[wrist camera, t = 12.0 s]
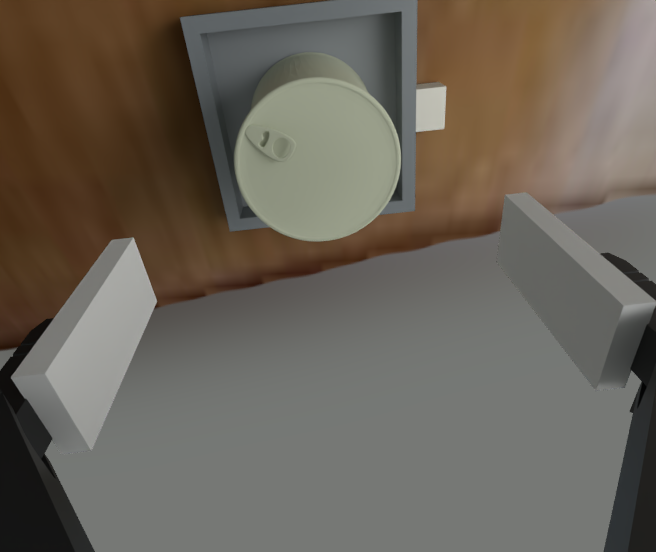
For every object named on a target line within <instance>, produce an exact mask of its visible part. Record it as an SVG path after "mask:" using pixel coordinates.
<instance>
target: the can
mask: <svg viewBox="0 0 656 552" xmlns="http://www.w3.org/2000/svg"><path fill="white" fill-rule="evenodd" d="M400 167H401V150H400V143H399V139H398V135H397V132H396V129H395V127H394V124H393V122H392V120H391V119H390V117H389V115H388V114H387V112H386V111H385V109H384V108H383V107H382V106H381V105H380V103H379V102H378V101H377V100H376V99H375V98H374V97H372V96H371V95H370V94H369V93H368V91H367V89H366V87H365V85H364V83H363V81H362V80H361V78H360V77H359V76H358V74H357V73H356V72H355V71H354V70H353V69H352V68H351V67H350V66H349V65H347V64H346V63H344V62H343V61H341V60H339V59H338V58H336V57H333V56H330V55H327V54H324V53H317V52H305V53H299V54H295V55H292V56H289V57H287V58H284V59H283V60H281V61H279V62H278V63H276V64H275V65H274V66H272V67H271V68H270V69H269V70H268V71H267V72H266V74H265V75H264V76H263V77H262V79H261V80H260V82H259V84H258V86H257V88H256V90H255V93H254V95H253V99H252V103H251V110H250V112H249V113H248V115H247V116H246V118H245V119H244V121H243V123H242V125H241V128H240V130H239V133H238V136H237V140H236V144H235V151H234V169H235V175H236V180H237V183H238V186H239V189H240V192H241V194H242V196H243V198H244V199H245V201H246V203H247V204H248V206H249V207H250V209H251V210H252V211H253V212H254V213H255V215H256V216H257V217H258V218H259V219H260V220H261V221H263V222H264V223H265V224H266V225H268V226H269V227H271V228H272V229H274V230H276V231H277V232H279V233H281V234H284V235H286V236H289V237H292V238H295V239H299V240H305V241H329V240H334V239H339V238H342V237H345V236H348V235H350V234H352V233H354V232H357V231H358V230H360V229H362V228H363V227H365V226H366V225H368V224H369V223H370V222H371V221H373V220H374V219H375V218H376V217H377V216H378V215H379V214H380V213H381V211H382V210H383V209H384V208H385V206H386V205H387V203H388V202H389V200H390V199H391V197H392V195H393V193H394V190H395V188H396V185H397V182H398V178H399V174H400Z"/></svg>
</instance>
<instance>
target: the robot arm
mask: <svg viewBox="0 0 656 552" xmlns="http://www.w3.org/2000/svg"><path fill="white" fill-rule="evenodd" d="M496 262H497V263H498V265H499V266H500V267H501V268H502V270H503V271H504V272H505V273H506V275H507V276H508V278H509V279H510V280H511V281H512V283H513V284H514V285H515V287H516V288H517V289H518V290H519V292H520V293H521V294H522V296H523V297H524V298H525V300H526V301H527V302H528V304H529V305H530V306H531V307H532V309H533V310H534V311H535V313H536V314H537V315H538V317H539V318H540V319H541V320H542V322H543V323H544V324H545V326H546V327H547V328H548V330H550V332H551V333H552V335H553V336H554V337H555V339H556V340H557V341H558V342H559V344H560V345H561V346H562V348H563V349H564V350H565V352H566V353H567V354H568V356H569V357H570V358H571V359H572V361H573V362H574V363H575V365H576V366H577V367H578V368H579V370H580V371H581V372H582V374H583V375H584V376H585V377H586V379H587V380H588V381H589V383H590V384H591V386H592V387H593V388H594V389H595V391H599V390H608V389H617V388H625V385H626V383H627V380H628V378H629V375H630V372H631V370H632V371H633V372H634V373H635V374H636V375H637V376H638V378H639V379H640V380H641V381H642V382H641V385H640V387H639V389H638V392H637V394H636V397H635V400H634V402H633V404H632V407H631V409H630V412H632V413H633V416H632V421H631V425H630V430H629V435H628V440H627V445H626V449H625V454H624V458H623V464H622V468H621V473H620V477H619V482H618V487H617V491H616V496H615V501H614V506H613V510H612V515H611V520H610V524H609V529H608V534H607V539H606V543H605V548H604V552H656V284H655V283H653V282H652V281H649V279H648V278H647V277H646V276H645V275H643V274H642V273H639V272H638V270H637V269H636V268H634V267H633V266H632V265H631V264H630V263H628V262H627V261H625V260H623V259H621V258H619V257H617V256H614V255H612V254H610V253H602V254H599V253H598V252H597V251H596V250H595V249H593V248H592V247H591V246H590V245H589V244H587V243H586V242H585V241H584V240H583V239H581V238H580V237H579V236H578V235H577V234H576V233H574V232H573V231H572V230H571V229H570V228H568V227H567V226H566V225H565V224H564V223H562V222H561V221H560V220H559V219H558V218H556V217H555V216H554V215H553V214H552V213H551V212H549V211H548V210H547V209H546V208H545V207H543V206H542V205H541V204H540V203H539V202H537V201H536V200H535V199H534V198H533V197H531V196H530V195H529V194H528V193H527V192H526V193H517V194H508V195H505V199H504V207H503V215H502V223H501V230H500V238H499V246H498V254H497V261H496ZM156 302H157V300H156V297H155V294H154V292H153V289H152V286H151V284H150V281H149V278H148V275H147V273H146V270H145V267H144V265H143V262H142V259H141V257H140V254H139V251H138V248H137V246H136V243H135V240H134V238H125V239H116V240H111V242H110V243H109V244H108V246H107V247H106V248H105V250H104V251H103V252H102V254H101V255H100V257H99V258H98V259H97V261H96V262H95V263H94V265H93V266H92V267H91V269H90V270H89V272H88V273H87V274H86V276H85V277H84V278H83V280H82V281H81V282H80V284H79V285H78V287H77V288H76V289H75V291H74V292H73V293H72V295H71V296H70V297H69V299H68V300H67V301H66V303H65V304H64V306H63V307H62V308H61V310H60V311H59V312H58V314H57V315H56V316H55V318H52V319H46V320H45V321H43V322H42V323H41V324H39V325H38V326H37V327H36V328H34V329H33V330H32V331H30V333H29V334H28V335H27V337H26V338H25V339H24V340H23V342H22V343H21V346H19V347H18V348H17V350H16V351H15V352H14V354H13V357H10V359H9V360H8V361H7V362H6V364H5V365H4V366H3V368H2V369H1V371H0V552H95V551H94V549H93V547H92V545H91V543H90V541H89V539H88V537H87V535H86V533H85V531H84V529H83V527H82V525H81V524H80V521H79V519H78V517H77V515H76V513H75V511H74V509H73V507H72V505H71V503H70V501H69V499H68V497H67V495H66V493H65V491H64V489H63V487H62V485H61V483H60V481H59V479H58V477H57V475H56V473H55V471H54V469H53V467H52V465H51V463H50V461H49V459H48V458H47V457H46V455H45V454H44V453H45V451H46V450H47V447H48V446H49V444H50V442H51V440H52V441H53V442H54V444H55V445H56V447H57V448H58V450H59V451H60V453H61V454H70V453H78V452H87V451H91V450H92V448H93V446H94V444H95V441H96V439H97V437H98V435H99V432H100V430H101V428H102V425H103V423H104V421H105V419H106V416H107V414H108V412H109V409H110V407H111V405H112V402H113V400H114V398H115V396H116V393H117V391H118V389H119V387H120V384H121V382H122V380H123V378H124V375H125V373H126V371H127V368H128V366H129V364H130V362H131V359H132V357H133V355H134V353H135V350H136V348H137V345H138V343H139V341H140V339H141V336H142V334H143V332H144V330H145V327H146V325H147V323H148V321H149V318H150V316H151V313H152V312H153V309H154V307H155V305H156Z"/></svg>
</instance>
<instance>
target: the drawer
mask: <svg viewBox="0 0 656 552" xmlns="http://www.w3.org/2000/svg"><path fill="white" fill-rule="evenodd" d="M180 20H181V24H182V29H183V33H184V37H185V41H186V46H187V50H188V54H189V58H190V63H191V67H192V71H193V75H194V80H195V84H196V88H197V93H198V97H199V101H200V105H201V110H202V114H203V118H204V122H205V127H206V131H207V135H208V139H209V144H210V148H211V152H212V157H213V161H214V165H215V169H216V174H217V178H218V182H219V186H220V191H221V195H222V199H223V204H224V208H225V212H226V216H227V221H228V225H229V229H230V231H239V230H248V229H257V228H266V227H269V226H268V225H266V224H265V223H264V222H263V221H261V220H260V219H259V218H258V217H257V216H256V215H255V213H254V212H253V211H252V210H251V209H250V207H249V206H248V204H247V203H246V201H245V199H244V198H243V196H242V194H241V192H240V189H239V186H238V183H237V180H236V175H235V169H234V151H235V144H236V140H237V136H238V133H239V130H240V128H241V125H242V123H243V121H244V119H245V118H246V116H247V115H248V113H249V112H250V110H251V103H252V99H253V95H254V93H255V90H256V88H257V86H258V84H259V82H260V80H261V79H262V77H263V76H264V75H265V74H266V72H267V71H268V70H269V69H270V68H271V67H272V66H274V65H275V64H276V63H278V62H279V61H281V60H283V59H284V58H287V57H289V56H292V55H295V54H299V53H305V52H317V53H324V54H327V55H330V56H333V57H336V58H338V59H339V60H341V61H343V62H344V63H346V64H347V65H349V66H350V67H351V68H352V69H353V70H354V71H355V72H356V73H357V74H358V76H359V77H360V78H361V80H362V81H363V83H364V85H365V87H366V89H367V91H368V93H369V94H370V95H371V96H372V97H374V98H375V99H376V100H377V101H378V102H379V103H380V105H381V106H382V107H383V108H384V109H385V111H386V112H387V114H388V115H389V117H390V119H391V120H392V122H393V124H394V127H395V129H396V132H397V135H398V139H399V143H400V150H401V167H400V174H399V178H398V182H397V185H396V188H395V190H394V193H393V195H392V197H391V199H390V200H389V202H388V203H387V205H386V206H385V208H384V209H383V210H382V211H381V213H380V214H379V215H382V214H391V213H400V212H409V211H415V156H416V132H421V131H429V130H438V129H444V125H445V103H446V86H445V85H443V84H441V83H440V82H434V83H425V84H416V72H417V0H329V1H319V2H310V3H301V4H292V5H283V6H274V7H265V8H256V9H247V10H238V11H229V12H220V13H211V14H202V15H192V16H185V17H180Z"/></svg>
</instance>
